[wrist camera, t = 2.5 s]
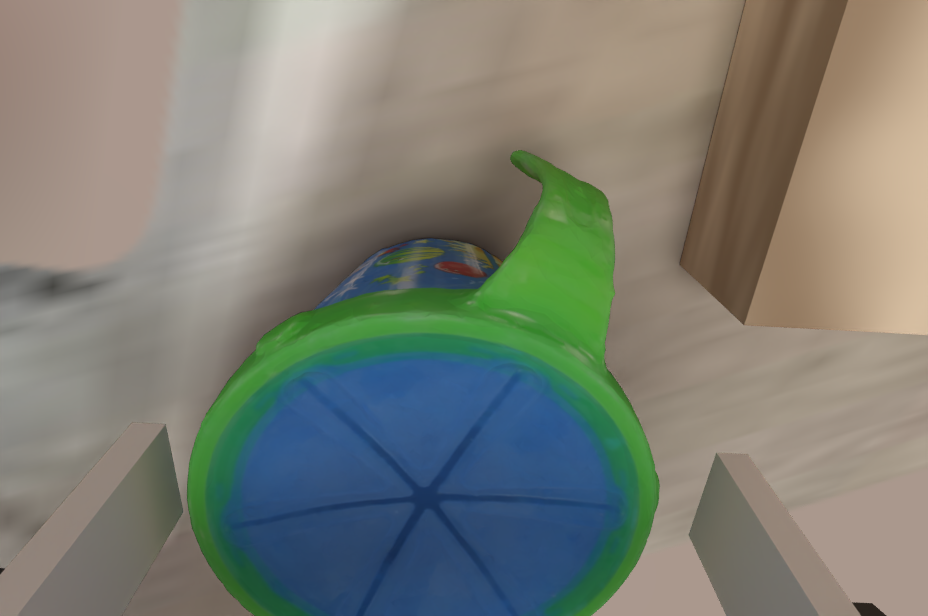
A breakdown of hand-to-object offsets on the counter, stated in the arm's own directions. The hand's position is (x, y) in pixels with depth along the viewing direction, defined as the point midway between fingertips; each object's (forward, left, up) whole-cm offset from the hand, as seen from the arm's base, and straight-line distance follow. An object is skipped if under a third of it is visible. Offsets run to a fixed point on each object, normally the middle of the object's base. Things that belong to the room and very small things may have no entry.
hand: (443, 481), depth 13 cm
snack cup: (0, 0, -9) cm, 9 cm away
